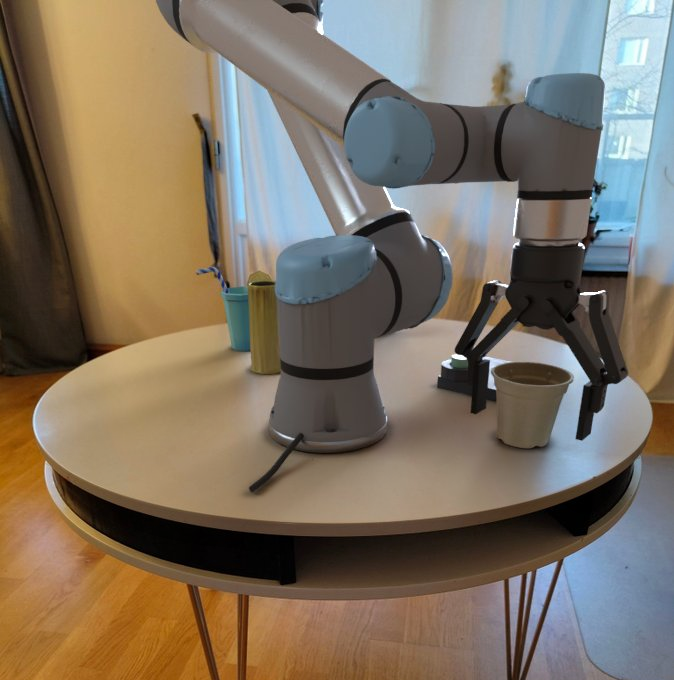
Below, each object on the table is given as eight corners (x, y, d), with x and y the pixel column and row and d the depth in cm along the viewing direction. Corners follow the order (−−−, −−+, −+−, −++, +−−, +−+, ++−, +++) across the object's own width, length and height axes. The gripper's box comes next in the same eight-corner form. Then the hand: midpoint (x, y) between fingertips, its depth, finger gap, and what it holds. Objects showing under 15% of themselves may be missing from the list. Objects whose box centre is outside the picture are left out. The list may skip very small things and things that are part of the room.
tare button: (464, 370, 91) (465, 360, 91) (447, 367, 93) (447, 357, 93) (474, 366, 93) (475, 356, 93) (457, 362, 95) (458, 352, 95)
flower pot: (553, 425, 80) (563, 361, 76) (571, 456, 72) (583, 386, 68) (480, 423, 81) (486, 360, 77) (489, 454, 73) (496, 384, 69)
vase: (282, 362, 107) (278, 278, 101) (291, 372, 102) (286, 285, 96) (248, 365, 106) (241, 281, 99) (254, 376, 100) (248, 287, 94)
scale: (513, 406, 86) (516, 383, 85) (432, 387, 94) (434, 365, 93) (555, 380, 96) (558, 359, 95) (479, 365, 104) (481, 344, 103)
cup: (201, 354, 112) (192, 270, 106) (206, 343, 119) (197, 263, 113) (278, 351, 113) (273, 268, 107) (278, 340, 120) (273, 261, 114)
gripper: (684, 244, 61) (644, 438, 70) (465, 233, 76) (455, 394, 85) (662, 252, 56) (622, 460, 65) (432, 238, 71) (425, 409, 80)
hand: (527, 423), depth 75 cm, fingers open, 13 cm apart
